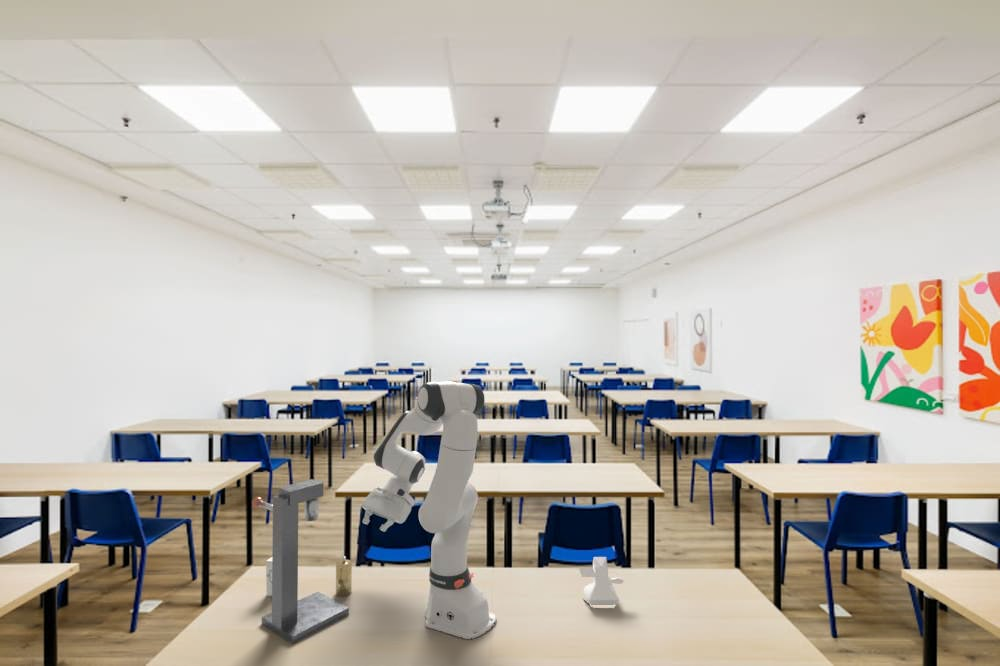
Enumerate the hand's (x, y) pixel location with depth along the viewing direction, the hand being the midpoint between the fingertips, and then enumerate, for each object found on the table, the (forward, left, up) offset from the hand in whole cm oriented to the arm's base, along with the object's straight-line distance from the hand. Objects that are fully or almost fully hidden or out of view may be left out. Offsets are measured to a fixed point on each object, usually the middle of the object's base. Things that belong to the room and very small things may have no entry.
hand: (373, 526), depth 182 cm
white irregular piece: (-71, -35, -18) cm, 81 cm away
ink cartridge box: (+18, +24, -18) cm, 35 cm away
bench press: (0, +29, -18) cm, 34 cm away
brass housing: (0, +12, -18) cm, 22 cm away
